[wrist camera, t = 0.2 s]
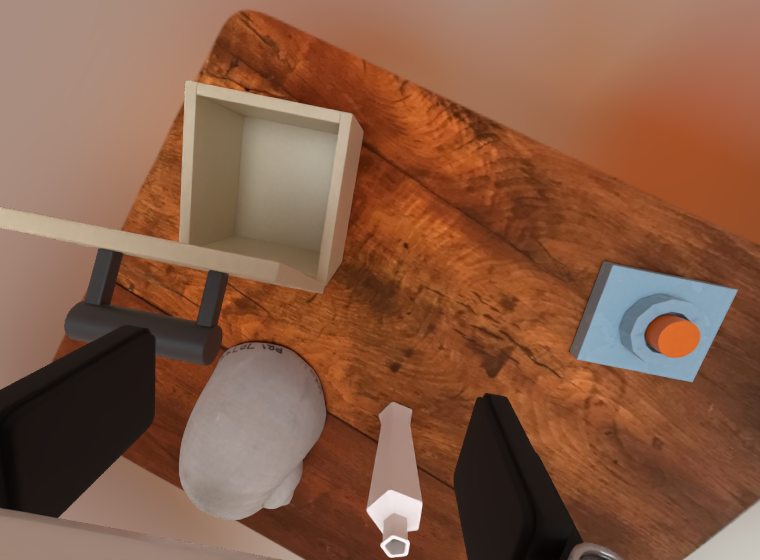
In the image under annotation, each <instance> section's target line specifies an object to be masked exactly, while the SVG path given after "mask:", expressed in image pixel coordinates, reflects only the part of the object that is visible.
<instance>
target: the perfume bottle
mask: <svg viewBox="0 0 760 560" xmlns="http://www.w3.org/2000/svg"><path fill="white" fill-rule="evenodd" d="M411 416H412V410H411V409H410V408H407V407H405V406H402V405H400V404H397V403H395V402H391V403H390V404H389V405H388V406H387V407H386V408H385V409H384V410H383V411H382V412H381V413H380V414H379V419H380V422H381V430H380V436H379V442H378V447H377V453H376V459H375V464H374V470H373V476H372V482H371V487H370V493H369V499H368V505H367V513H368V514H369V515H370V517H371V518H372V519H373V521H374V522H375V523H376V525H377V526H378V528H379V529H380V530H381V532H382V533H383V542H382V543H381V547H382V549H383V550H384V552H385V553H386V554H387V556H388V557H390V558H393V557H401V556H406V555H408V551H409V545H410V542H409V541H408V534H407V532H408V531H415V530H418V528H419V522H420V516H421V510H422V498H421V492H420V485H419V479H418V473H417V466H416V460H415V453H414V447H413V441H412V434H411V428H410V423H411Z"/></svg>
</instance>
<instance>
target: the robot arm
mask: <svg viewBox="0 0 760 560" xmlns="http://www.w3.org/2000/svg"><path fill="white" fill-rule="evenodd" d="M155 352H156V339H155V336H154V335H153V334H151V332H150V330H149V329H148V328H143V327H138V326H133V325H127V324H126V325H123V326H121V327H119V328H117V329H115V330H113V331H111V332H109V333H108V334H106V335H104V336H102V337H100V338H98V339H96V340H94V341H92V342H90V343H89V344H87V345H85V346H83V347H81V348H79V349H77V350H75V351H73V352H71V353H70V354H68V355H66V356H64V357H62V358H60V359H58V360H56V361H54V362H52V363H51V364H49V365H47V366H45V367H43V368H41V369H39V370H37V371H36V372H34V373H32V374H30V375H28V376H26V377H24V378H22V379H20V380H18V381H16V382H14V383H12V384H11V385H9V386H7V387H5V388H3V389H1V390H0V560H281V559H276V558H270V557H265V556H260V555H255V554H249V553H244V552H239V551H233V550H227V549H223V548H217V547H212V546H207V545H201V544H196V543H191V542H185V541H180V540H174V539H169V538H163V537H158V536H153V535H147V534H142V533H136V532H131V531H126V530H120V529H115V528H109V527H104V526H98V525H92V524H87V523H81V522H76V521H70V520H65V519H59V518H58V517H59V516H60V515H61V514H62V513H63V512H65V511H66V510H67V508H69V506H70V505H72V503H73V502H75V501H76V500H77V498H79V496H80V495H82V494H83V493H84V492H85V490H87V489H88V488H89V487H90V486H91V485H92V484H93V483H94V482H95V481H96V479H98V478H99V477H100V476H101V475H102V474H103V473H104V472H105V471H106V470H107V469H108V468H109V467H110V466H111V465H112V464H113V463H114V462H115V461H116V460H117V459H118V458H119V457H120V456H121V455H122V454H123V453H124V452H125V451H126V450H127V449H128V448H129V447H130V446H131V445H132V444H133V443H134V442H135V441H136V440H137V439H138V438H139V437H140V436H141V435H142V434H143V433H144V432H145V431H146V430H147V429H148V428H149V427H150V425H151V424H152V421H153V419H154V414H155ZM454 489H455V494H456V500H457V505H458V510H459V516H460V521H461V526H462V531H463V537H464V542H465V547H466V553H467V558H468V560H624V559H623V558H622V557H621V556H619V555H617V554H616V553H614V552H612V551H611V550H609V549H607V548H605V547H602V546H600V545H597V544H594V543H585V542H583V540H582V538H581V536H580V534H579V532H578V530H577V528H576V527H575V525H574V523H573V521H572V519H571V517H570V515H569V513H568V511H567V509H566V507H565V505H564V503H563V501H562V499H561V498H560V496H559V494H558V492H557V490H556V488H555V486H554V484H553V482H552V480H551V478H550V476H549V474H548V472H547V471H546V469H545V467H544V465H543V463H542V461H541V459H540V457H539V456H538V454H537V453H536V452H535V451H534V449H533V447H532V445H531V443H530V441H529V439H528V437H527V435H526V433H525V431H524V429H523V427H522V425H521V423H520V421H519V420H518V418H517V416H516V414H515V412H514V410H513V408H512V406H511V404H510V402H509V400H508V398H507V397H505V396H499V395H494V394H489V393H486V394H485V395H484V396H483V398H482V397H478V398H477V400H476V402H475V406H474V409H473V412H472V416H471V419H470V422H469V426H468V429H467V432H466V436H465V439H464V442H463V446H462V449H461V452H460V456H459V459H458V462H457V465H456V469H455V473H454Z"/></svg>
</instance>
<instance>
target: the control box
mask: <svg viewBox="0 0 760 560" xmlns="http://www.w3.org/2000/svg"><path fill="white" fill-rule="evenodd" d="M737 291H738V290H737V289H733V288H730V287H727V286H724V285H720V284H715V283H710V282H705V281H700V280H695V279H690V278H685V277H680V276H675V275H670V274H665V273H660V272H655V271H650V270H645V269H640V268H635V267H630V266H625V265H620V264H615V263H610V262H605V261H603V263H602V266H601V269H600V271H599V274H598V277H597V279H596V282H595V285H594V287H593V290H592V293H591V295H590V298H589V301H588V303H587V306H586V309H585V311H584V314H583V317H582V319H581V322H580V325H579V327H578V330H577V333H576V335H575V338H574V341H573V343H572V346H571V349H570V353H571V354H572V355H573V356H574V357H575V358H576V359H578V360H583V361H588V362H593V363H598V364H603V365H608V366H613V367H618V368H623V369H629V370H634V371H639V372H644V373H649V374H654V375H659V376H664V377H669V378H674V379H679V380H684V381H689V382H693V380H694V378H695V376H696V374H697V372H698V370H699V368H700V366H701V364H702V362H703V360H704V358H705V356H706V354H707V352H708V349H709V347H710V345H711V343H712V341H713V339H714V337H715V335H716V333H717V331H718V329H719V327H720V325H721V323H722V321H723V319H724V317H725V315H726V313H727V311H728V309H729V307H730V305H731V303H732V301H733V299H734V297H735V295H736V293H737ZM665 314H673V315H677V316H679V317H681V318H683V319H685V320H687V321H690V322H692V323H693V324H695V325H696V326H697V327H698V329H699V331H700V336H701V337H700V342H699V344H698V346H697V347H696V349H695V350H694V351H692V352H691V353H690V354H688V355H686V356H684V357H680V358H671V357H667V356H665V355H663V354H662V353H660V352H659V351H657V350H656V349H654V348H653V347H651V346H650V345H649V344H648V343H647V341H646V338H645V332H646V329H647V327H648V325H649V324H650V322H651V321H653V320H654V319H655V318H657V317H659V316H661V315H665Z"/></svg>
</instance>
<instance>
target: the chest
mask: <svg viewBox="0 0 760 560" xmlns="http://www.w3.org/2000/svg"><path fill="white" fill-rule="evenodd" d="M363 134H364V131H363V129H362V128H361V126H360V125H359V123H358V122H357V120H356V119H355V117H354V115H353V114H352V113H347V112H341V111H337V110H332V109H327V108H322V107H317V106H312V105H307V104H302V103H297V102H292V101H287V100H282V99H277V98H272V97H267V96H262V95H258V94H253V93H248V92H243V91H238V90H233V89H228V88H223V87H218V86H213V85H208V84H203V83H197V82H194V81H188V80H185V101H184V127H183V153H182V179H181V204H180V230H179V242H180V243H186V244H191V245H196V246H201V247H206V248H211V249H216V250H221V251H226V252H231V253H236V254H241V255H246V256H251V257H256V258H261V259H266V260H271V261H276V262H279V263H282V264H284V265H286V266H288V267H290V268H292V269H294V270H296V271H298V272H301V273H303V274H305V275H307V276H309V277H311V278H313V279H315V280H318V281H320V282H322V283H324V284H325V286H326V285H327V283H328V282H329V280H330V279H331V278H332V276H333V275H334V273H335V272H336V270H337V269H338V267H339V266H340V264H341V263H342V259H343V253H344V247H345V241H346V235H347V229H348V223H349V217H350V212H351V206H352V200H353V194H354V188H355V182H356V176H357V170H358V164H359V158H360V152H361V146H362V140H363ZM325 286H324V287H325Z"/></svg>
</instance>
